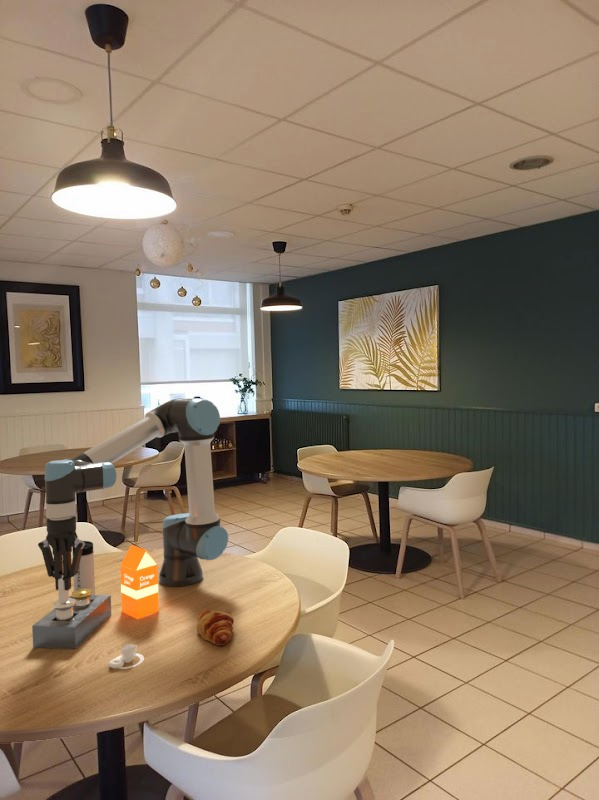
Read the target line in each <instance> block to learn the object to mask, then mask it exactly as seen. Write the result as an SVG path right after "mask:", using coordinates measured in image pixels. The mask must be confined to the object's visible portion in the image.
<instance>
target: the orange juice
mask: <svg viewBox="0 0 599 800" xmlns="http://www.w3.org/2000/svg"><path fill="white" fill-rule="evenodd" d="M119 568H120V593H121V612H122V613H124V614H126V615H128V616H130V617H132V618H134V619H136V620H139V619H141V618H145V617H147V616H151V615H152V614H155V613H158V612H159V610H160V607H159V606H160V605H159V577H158V575H159V574H158V564H157V562H156V561H155V560H154V558H153V557H152V556H151V554H150V553H149V552H148V551H147V549H144V548H141V547H138V546H136V545H132V544H131V545H130V547H129V549H128V550H127V552H126V554H125V556H124V558H123V560H122V561H121V564H120V567H119Z"/></svg>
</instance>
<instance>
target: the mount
mask: <svg viewBox="0 0 599 800" xmlns="http://www.w3.org/2000/svg"><path fill="white" fill-rule="evenodd" d="M111 597H112V596H111V595H110V594H95V595H91V596H90V604H89V605H88V606H73V616H74V618H72V619H71V620H70V621H56V609H54V608H53V609H52V610H51V611H50V612H48V613H46V615H44V616H43V617H41V619H39V620H38V621H37V622H35V623H34V624H33V625H32V626H31V630H32V648H33V649H34V648H35V649H36V648H37V649H59V650H60V649H62V650H64V649H66V650H76V649H78V647H80V645H82V644H83V642H85V641H86V640H87V639H88V638H89V637H90V636H91V635H92V634H93V633H94V632H95V631H96V630H97V629H98V628H100V626H102V624H103V623H104V622H105V621H106V620H108V618H109V617H111V616H112V598H111ZM69 598H72V595H71V596H70V595H69ZM73 599H74V598H73Z"/></svg>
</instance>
